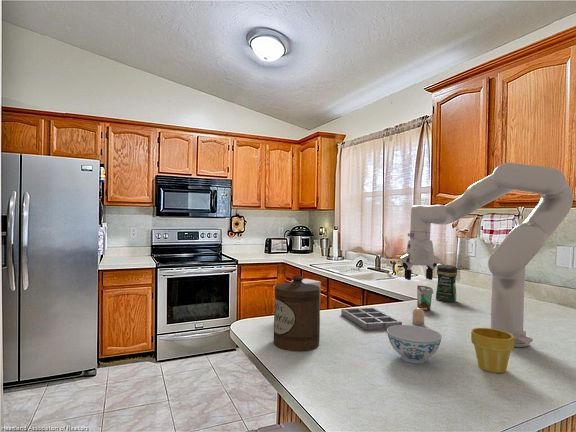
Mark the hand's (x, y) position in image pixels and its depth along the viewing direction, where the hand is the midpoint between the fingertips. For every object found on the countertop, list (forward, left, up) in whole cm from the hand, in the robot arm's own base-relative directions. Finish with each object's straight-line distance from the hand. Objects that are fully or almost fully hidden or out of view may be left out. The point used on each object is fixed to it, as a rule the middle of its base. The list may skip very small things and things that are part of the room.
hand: (418, 279), depth 141 cm
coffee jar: (+35, -41, -18) cm, 57 cm away
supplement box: (+16, +42, -18) cm, 48 cm away
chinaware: (-32, +24, -18) cm, 44 cm away
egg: (0, 0, -18) cm, 18 cm away
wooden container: (-13, +54, -18) cm, 58 cm away
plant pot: (-42, +6, -18) cm, 46 cm away
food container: (+20, -18, -18) cm, 32 cm away
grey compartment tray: (+6, +18, -17) cm, 26 cm away
